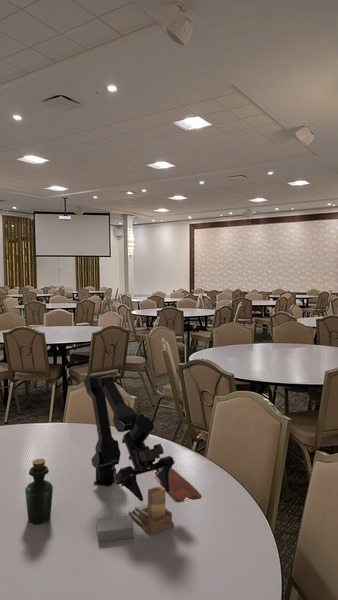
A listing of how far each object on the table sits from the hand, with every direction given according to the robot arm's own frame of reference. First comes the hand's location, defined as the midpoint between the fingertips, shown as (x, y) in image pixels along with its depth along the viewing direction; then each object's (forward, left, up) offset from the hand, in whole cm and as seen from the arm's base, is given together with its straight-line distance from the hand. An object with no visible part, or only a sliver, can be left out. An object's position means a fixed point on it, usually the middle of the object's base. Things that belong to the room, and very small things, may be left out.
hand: (155, 496), depth 135 cm
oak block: (0, 0, -5) cm, 6 cm away
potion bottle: (-35, -7, -9) cm, 37 cm away
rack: (-1, +1, -9) cm, 9 cm away
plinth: (-10, -8, -9) cm, 15 cm away
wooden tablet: (-2, +28, -9) cm, 29 cm away
